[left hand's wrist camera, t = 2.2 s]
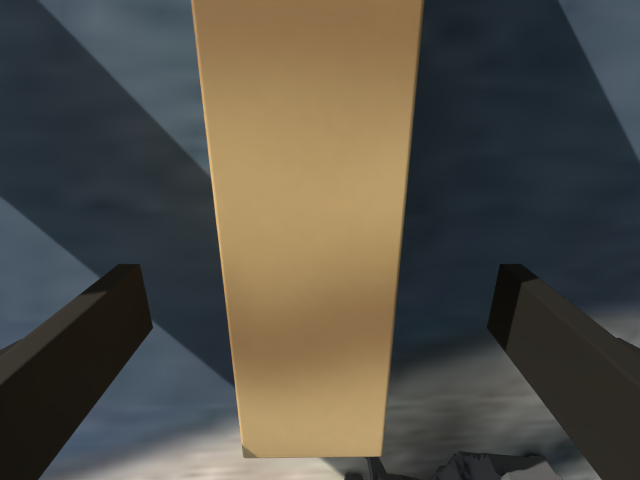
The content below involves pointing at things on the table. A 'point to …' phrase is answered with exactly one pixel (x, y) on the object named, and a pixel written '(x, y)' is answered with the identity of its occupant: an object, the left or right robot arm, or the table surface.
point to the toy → (476, 468)
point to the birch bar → (310, 209)
